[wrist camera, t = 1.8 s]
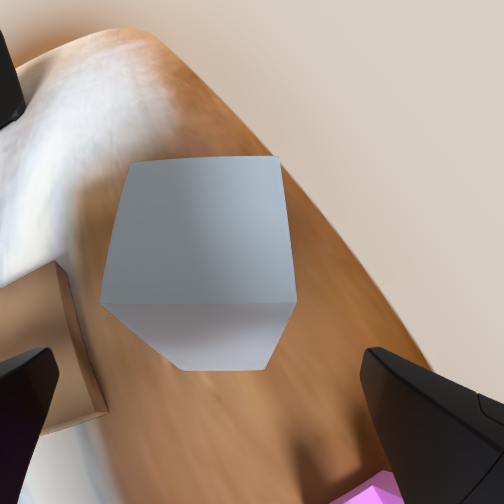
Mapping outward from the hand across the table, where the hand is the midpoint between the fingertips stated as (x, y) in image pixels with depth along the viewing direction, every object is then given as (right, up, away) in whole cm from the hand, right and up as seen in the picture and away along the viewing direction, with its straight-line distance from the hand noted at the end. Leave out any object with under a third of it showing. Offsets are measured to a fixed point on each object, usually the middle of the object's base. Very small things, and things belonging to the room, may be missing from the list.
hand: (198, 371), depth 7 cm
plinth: (-15, -5, +9) cm, 18 cm away
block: (0, -2, +11) cm, 12 cm away
